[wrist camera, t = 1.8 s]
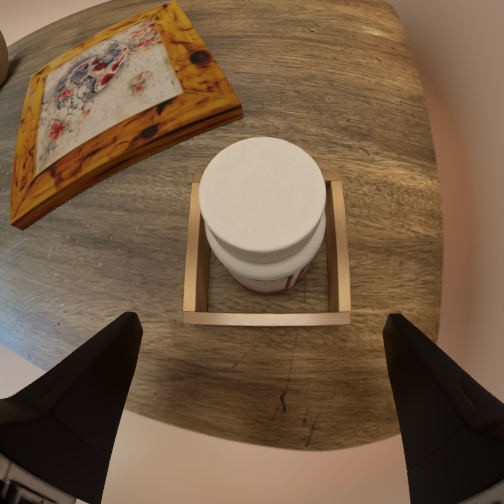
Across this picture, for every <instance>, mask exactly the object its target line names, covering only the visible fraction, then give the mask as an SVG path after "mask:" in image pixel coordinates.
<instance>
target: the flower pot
mask: <svg viewBox="0 0 504 504" xmlns="http://www.w3.org/2000/svg"><path fill="white" fill-rule="evenodd" d="M7 74H8V51H7V46H6V42H5V39H4V37H3V35H2V33H1V31H0V86H1V85H2V84H3V82H4V81H5V79H6V77H7Z"/></svg>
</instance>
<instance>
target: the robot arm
mask: <svg viewBox="0 0 504 504" xmlns="http://www.w3.org/2000/svg"><path fill="white" fill-rule="evenodd" d="M142 335H143V328H142V325H141V323H140V320H139V318H138V315H137V314H136V313H135V312H125V313H123V314H122V315H120V316H119V317H118V318H117V319H115V320H114V321H113V322H111V323H110V324H109V325H107V326H106V327H105V328H103V329H102V330H101V331H99V332H98V333H97V334H96V335H94V336H93V337H92V338H90V339H89V340H88V341H86V342H85V343H84V344H83V345H81V346H80V347H79V348H77V349H76V350H75V351H74V352H72V353H71V354H70V355H68V356H67V357H66V358H65V359H63V360H62V361H61V363H58V364H57V365H56V366H54V367H53V368H52V369H51V370H49V371H48V372H47V373H45V374H44V375H43V376H41V377H40V378H38V379H37V380H35V381H34V382H32V383H31V384H29V385H28V386H26V387H25V388H24V389H22V390H20V391H19V392H17V393H16V394H14V395H13V396H11V397H8V398H4V399H0V504H75V503H76V499H80V500H82V501H84V502H86V503H89V504H101V500H102V495H103V490H104V485H105V481H106V476H107V471H108V467H109V461H110V458H111V454H112V450H113V446H114V442H115V438H116V434H117V430H118V427H119V423H120V419H121V416H122V412H123V409H124V405H125V402H126V398H127V395H128V392H129V388H130V385H131V382H132V379H133V375H134V372H135V368H136V364H137V359H138V354H139V349H140V345H141V340H142ZM383 341H384V347H385V354H386V361H387V369H388V374H389V379H390V383H391V387H392V392H393V396H394V401H395V405H396V410H397V415H398V420H399V425H400V430H401V436H402V442H403V448H404V454H405V460H406V467H407V471H408V472H407V475H408V484H409V491H410V502H411V504H504V404H503V403H502V402H501V401H500V400H498V399H497V398H496V397H495V396H493V395H492V394H491V393H490V392H488V391H487V390H486V389H485V388H483V387H482V386H481V385H480V384H479V383H477V382H476V381H475V380H474V379H473V378H472V377H471V376H470V375H469V374H468V373H467V372H465V371H464V370H462V368H461V367H460V366H458V364H457V363H455V361H453V360H452V359H451V358H450V357H449V356H448V355H447V354H446V353H445V352H443V351H442V350H441V349H440V348H439V347H438V346H437V345H436V344H435V343H434V342H432V341H431V340H430V339H429V338H428V337H427V336H426V335H425V334H423V333H422V332H421V331H420V330H419V329H418V328H417V327H415V326H414V325H413V324H412V323H411V322H410V321H408V320H407V319H406V318H405V317H404V316H403V315H401V314H400V313H394V314H389V315H388V317H387V320H386V323H385V326H384V329H383Z"/></svg>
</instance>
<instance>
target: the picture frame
mask: <svg viewBox="0 0 504 504" xmlns="http://www.w3.org/2000/svg"><path fill="white" fill-rule="evenodd" d="M240 118H243V113H242V107H241V102H240V100H239V99H238V97H237V95H236V94H235V92H234V90H233V89H232V87H231V85H230V84H229V82H228V80H227V79H226V77H225V75H224V74H223V72H222V71H221V69H220V67H219V66H218V64H217V63H216V61H215V59H214V58H213V56H212V55H211V53H210V51H209V50H208V48H207V47H206V45H205V44H204V42H203V41H202V39H201V38H200V36H199V35H198V33H197V32H196V30H195V29H194V27H193V26H192V24H191V23H190V21H189V20H188V18H187V17H186V15H185V14H184V12H183V11H182V10H181V8H180V7H179V5H178V4H177V2H176V1H175V0H173V1H170V2H167V3H165V4H162V5H159V6H157V7H154V8H151V9H149V10H146V11H144V12H142V13H139V14H137V15H134V16H132V17H130V18H128V19H126V20H123V21H121V22H119V23H117V24H115V25H113V26H111V27H109V28H107V29H105V30H103V31H101V32H99V33H97V34H96V35H94V36H92V37H90V38H88V39H87V40H85V41H83V42H81V43H80V44H78V45H76V46H75V47H73V48H71V49H70V50H68V51H67V52H65V53H64V54H62V55H60V56H59V57H57V58H56V59H54V60H53V61H52V62H50V63H49V64H47V65H46V66H44V67H43V68H42V69H40V70H39V71H38V72H36V73H35V74H34V75H32V76H31V79H30V83H29V86H28V90H27V94H26V98H25V102H24V106H23V110H22V115H21V120H20V125H19V130H18V136H17V142H16V148H15V156H14V164H13V174H12V186H11V204H10V225H12V226H14V227H16V228H18V229H20V230H22V231H23V230H24V229H25V228H27V227H28V226H30V225H31V224H32V223H34V222H35V221H37V220H38V219H40V218H41V217H43V216H44V215H46V214H47V213H49V212H50V211H52V210H53V209H55V208H56V207H58V206H60V205H61V204H63V203H64V202H66V201H68V200H69V199H71V198H72V197H74V196H76V195H77V194H79V193H81V192H82V191H84V190H86V189H88V188H89V187H91V186H93V185H95V184H96V183H98V182H100V181H102V180H104V179H105V178H107V177H109V176H111V175H113V174H115V173H117V172H118V171H120V170H122V169H124V168H126V167H128V166H130V165H132V164H134V163H136V162H138V161H140V160H142V159H144V158H146V157H148V156H150V155H153V154H155V153H157V152H159V151H161V150H163V149H166V148H168V147H170V146H172V145H174V144H177V143H179V142H181V141H184V140H186V139H188V138H191V137H193V136H196V135H198V134H201V133H203V132H206V131H208V130H211V129H213V128H216V127H218V126H221V125H224V124H226V123H229V122H232V121H235V120H238V119H240Z"/></svg>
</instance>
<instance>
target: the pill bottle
mask: <svg viewBox="0 0 504 504" xmlns="http://www.w3.org/2000/svg"><path fill="white" fill-rule="evenodd" d="M198 196H199V206H200V210H201V214H202V216H203V219H204V221H205V231H206V236H207V239H208V242H209V244H210V247H211V249H212V250H213V252H214V254H215V255H216V257H217V258H218V259H219V260H220V261H221V262H222V264H223V265H224V266H225V267H226V268H227V270H228V271H229V272H230V273H231V274H232V276H233V277H234V278H235V279H236V280H237V281H238V282H239V283H240V284H241V285H242V286H244V287H245V288H247V289H248V290H250V291H253V292H256V293H259V294H277V293H281V292H283V291H286V290H288V289H289V288H291V287H293V286H294V285H295V284H296V283H297V282H298V281H299V280H300V279H301V278H302V276H303V275H304V274H305V272H306V270H307V269H308V267H309V265H310V263H311V261H312V260H313V258H314V256H315V255H316V253H317V252H318V250H319V248H320V245H321V243H322V240H323V237H324V234H325V227H326V216H325V210H324V208H325V203H326V186H325V181H324V178H323V175H322V173H321V171H320V169H319V167H318V165H317V164H316V162H315V161H314V160H313V159H312V158H311V157H310V156H309V155H308V154H307V153H306V152H305V151H304V150H302V149H301V148H299V147H298V146H296V145H294V144H292V143H290V142H287V141H284V140H281V139H277V138H270V137H257V138H250V139H246V140H242V141H239V142H237V143H234V144H232V145H230V146H228V147H227V148H225V149H224V150H222V151H221V152H220V153H219V154H218V155H216V156H215V157H214V158H213V159H212V161H211V162H210V163H209V165H208V166H207V168H206V169H205V171H204V173H203V176H202V178H201V181H200V186H199V194H198Z"/></svg>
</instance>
